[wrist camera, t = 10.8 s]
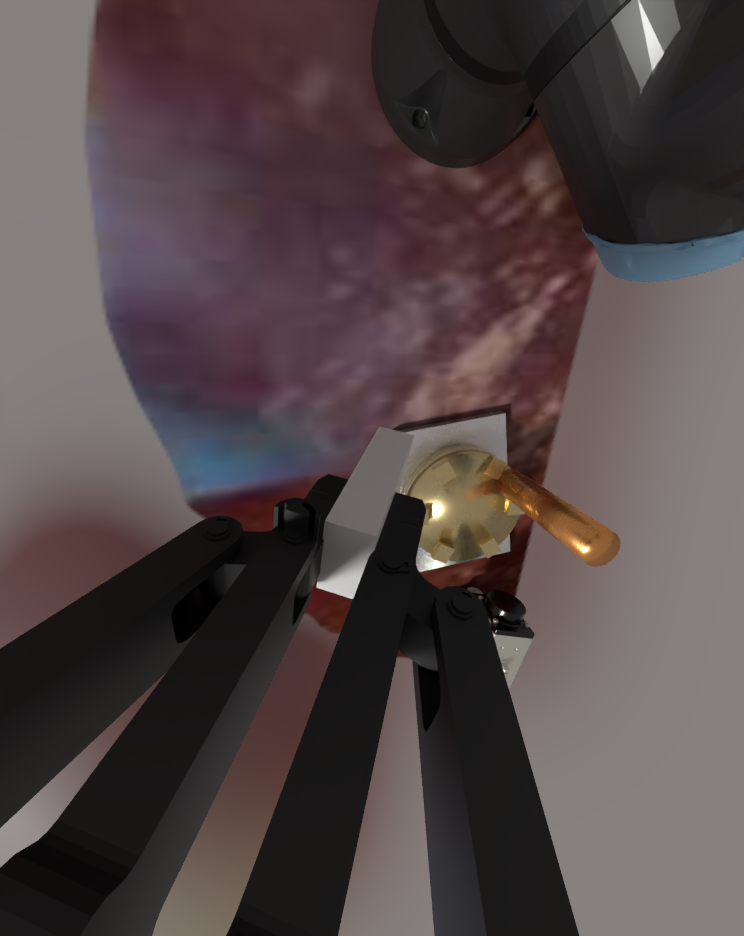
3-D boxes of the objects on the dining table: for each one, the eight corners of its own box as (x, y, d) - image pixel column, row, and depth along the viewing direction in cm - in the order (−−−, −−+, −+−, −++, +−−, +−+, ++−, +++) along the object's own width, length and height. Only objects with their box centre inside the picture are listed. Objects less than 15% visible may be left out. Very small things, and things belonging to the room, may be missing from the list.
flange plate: (389, 431, 42) (391, 435, 41) (499, 410, 43) (505, 413, 42) (408, 566, 48) (411, 573, 47) (504, 545, 49) (510, 551, 48)
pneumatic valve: (494, 565, 50) (546, 631, 39) (465, 636, 53) (506, 715, 42) (456, 559, 49) (499, 625, 38) (429, 632, 52) (461, 712, 41)
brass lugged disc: (483, 419, 41) (589, 470, 25) (529, 507, 46) (644, 595, 30) (381, 487, 42) (422, 576, 26) (435, 566, 47) (499, 683, 31)
